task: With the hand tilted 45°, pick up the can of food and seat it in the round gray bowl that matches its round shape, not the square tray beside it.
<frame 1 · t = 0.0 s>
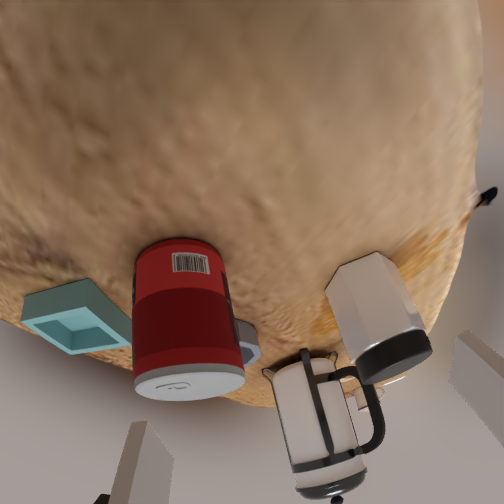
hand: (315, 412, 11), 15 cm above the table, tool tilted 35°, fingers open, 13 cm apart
jar: (359, 274, 35), on the table
coffee press: (303, 357, 55), on the table
square tray: (78, 309, 29), on the table
canned food: (178, 263, 27), on the table
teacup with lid: (366, 385, 106), on the table
round gray bowl: (208, 340, 40), on the table
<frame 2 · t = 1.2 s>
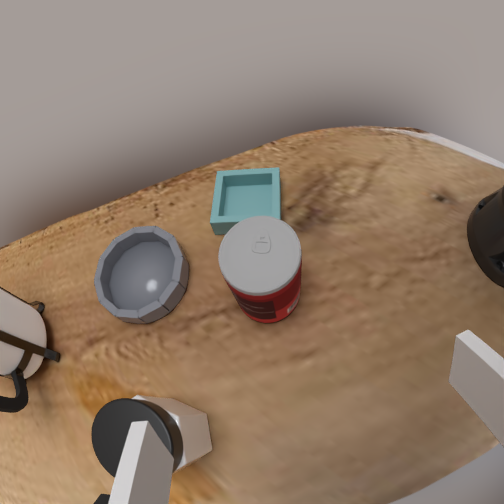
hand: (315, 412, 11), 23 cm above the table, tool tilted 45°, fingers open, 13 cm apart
jar: (178, 433, 31), on the table
coffee press: (35, 351, 37), on the table
square tray: (249, 206, 44), on the table
canned food: (268, 293, 38), on the table
round gray bowl: (144, 278, 41), on the table
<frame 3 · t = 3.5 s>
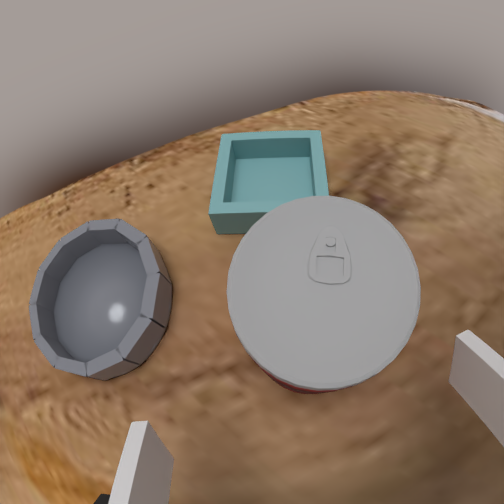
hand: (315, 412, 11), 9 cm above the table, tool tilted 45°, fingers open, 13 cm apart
square tray: (272, 189, 27), on the table
canned food: (310, 339, 21), on the table
round gray bowl: (103, 303, 24), on the table
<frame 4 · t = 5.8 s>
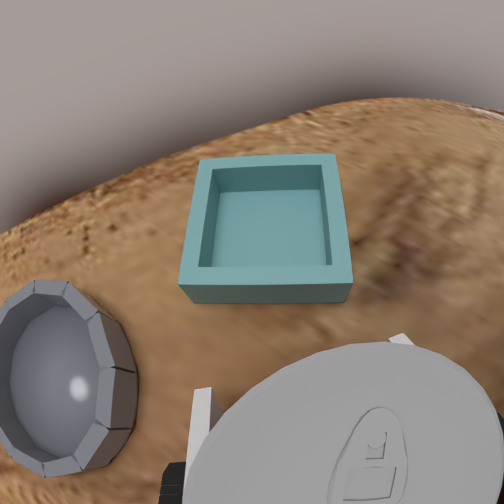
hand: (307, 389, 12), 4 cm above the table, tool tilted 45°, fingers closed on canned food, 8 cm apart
square tray: (269, 237, 20), on the table
canned food: (318, 447, 14), on the table, touching gripper
round gray bowl: (60, 382, 17), on the table
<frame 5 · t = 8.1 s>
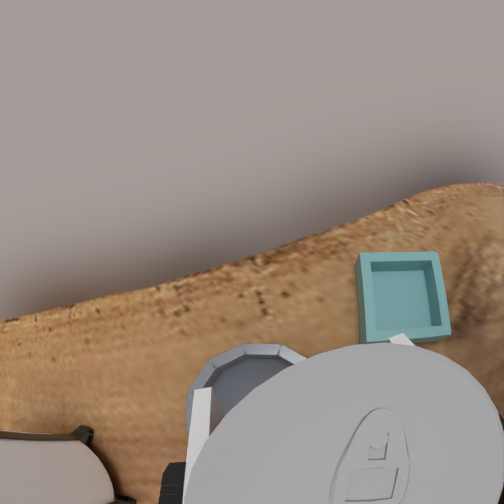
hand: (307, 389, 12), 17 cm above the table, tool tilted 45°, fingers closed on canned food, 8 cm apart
coffee press: (91, 487, 23), on the table
square tray: (398, 303, 30), on the table
canned food: (318, 448, 14), point 13 cm above the table, touching gripper
round gray bowl: (261, 413, 27), on the table
when the fingers open (5 cm above the table, at t = 10.8 s): canned food drops 1 cm, resting on round gray bowl.
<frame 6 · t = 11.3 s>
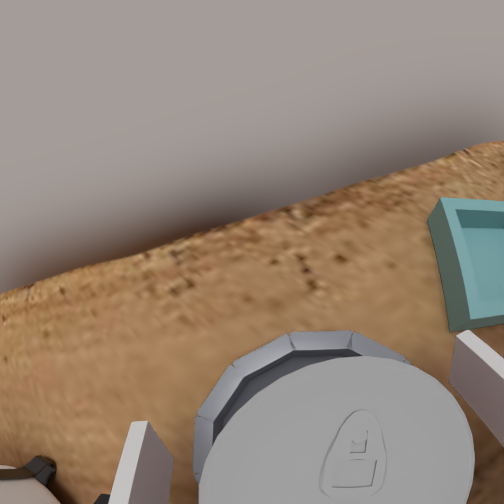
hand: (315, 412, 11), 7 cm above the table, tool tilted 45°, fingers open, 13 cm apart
square tray: (484, 269, 19), on the table
canned food: (315, 446, 15), resting on round gray bowl
round gray bowl: (315, 443, 15), on the table
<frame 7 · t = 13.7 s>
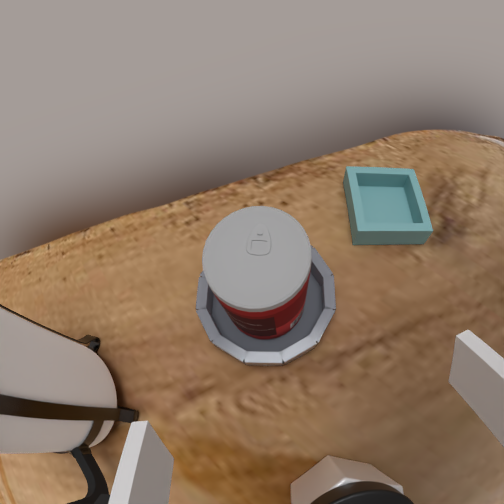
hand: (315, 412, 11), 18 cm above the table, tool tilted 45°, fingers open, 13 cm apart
jar: (333, 493, 22), on the table
coffee press: (92, 406, 28), on the table
square tray: (383, 211, 35), on the table
canned food: (266, 303, 31), resting on round gray bowl
round gray bowl: (267, 302, 31), on the table
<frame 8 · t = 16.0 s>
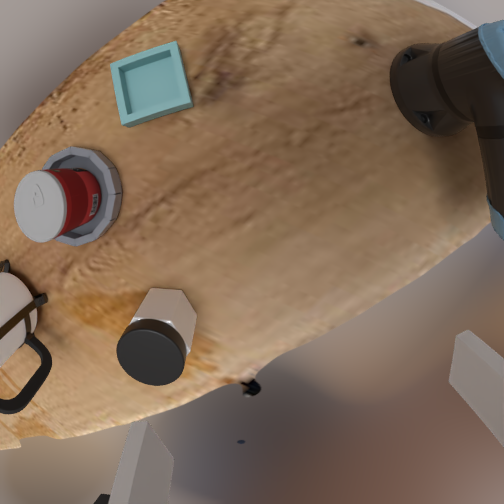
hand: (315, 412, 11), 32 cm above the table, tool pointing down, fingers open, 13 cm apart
jar: (167, 312, 44), on the table
coffee press: (24, 302, 42), on the table
square tray: (153, 86, 35), on the table
canned food: (80, 195, 38), resting on round gray bowl
round gray bowl: (81, 194, 38), on the table
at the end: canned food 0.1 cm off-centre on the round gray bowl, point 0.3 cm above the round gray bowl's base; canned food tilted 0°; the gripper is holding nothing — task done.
